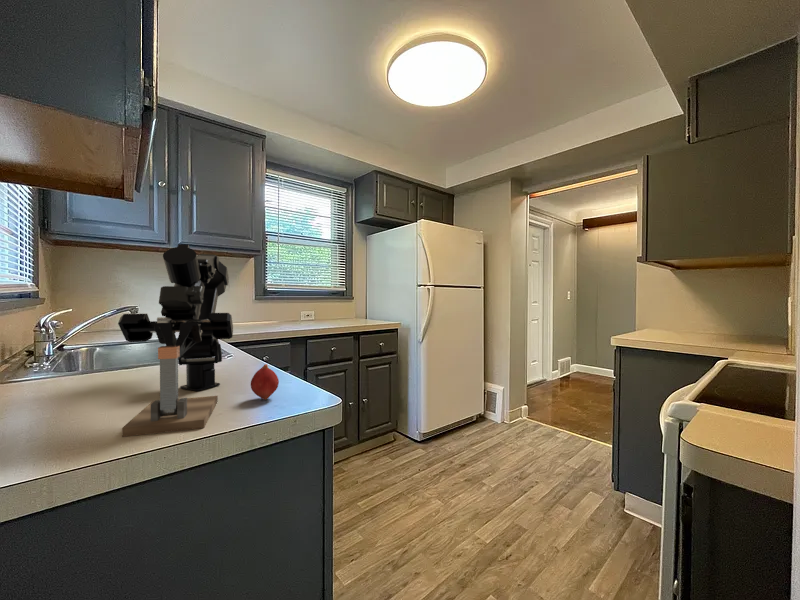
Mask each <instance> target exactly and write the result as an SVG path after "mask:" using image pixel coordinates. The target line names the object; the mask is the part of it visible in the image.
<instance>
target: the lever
mask: <svg viewBox="0 0 800 600" xmlns="http://www.w3.org/2000/svg"><path fill="white" fill-rule="evenodd" d="M179 356H180V345H179V346H166V345H161V346H159V347H158V348H157V359H158V360H159V400H160V416H171V415H177V402H178V399H179V360H178V357H179Z"/></svg>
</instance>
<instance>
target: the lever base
mask: <svg viewBox="0 0 800 600" xmlns="http://www.w3.org/2000/svg"><path fill="white" fill-rule="evenodd" d="M218 401H219V400H218V395H211V396H199V397H198V396H197V397H181V398H178V402H177V415H171V416H160V399H157V400H155V399H154V400H152V401H151V402H150V403H149V404H148V405H146V406H145V407H144V408H143V409H142V410H140V411H139V412H138V413H137V414H136V415H135V416H134V417H133V418H132V419H130V420H129V421H128V422H127V423H126V424H125V425H123V426H122V428H121V437H122V438H123V437H133V436H140V435H153V434H160V433H161V434H162V433H169V432H170V433H171V432H179V431H187V430H188V431H189V430H197V429H198V430H199V429H204V428H205V426H206V425H207V423H208V422H209V419H210V417H211V415H212V414H213V412H214V410H215V408H216V407H217V405H216V404H218V403H217V402H218Z"/></svg>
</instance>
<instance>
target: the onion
mask: <svg viewBox="0 0 800 600" xmlns="http://www.w3.org/2000/svg"><path fill="white" fill-rule="evenodd" d="M279 382H280V380H279V377H278V376H277V374H276V372H275V371H274V370H273V369H271V368H269V366H268V364H267V363H266V364H263V366H262V367H261V368H259V369H258V370H257V371H256V372H255V373H254V375H253V376H252V378H251V380H250V389H251V391H252V392H253V393H254V394H255V395H256V396H257V397H259V398H260V399H262V400H263V401H264V400H268V399H269V398H270V397H271V396H272V395H273V394H274V393H275V392H276V390H277V389H278V387H279Z"/></svg>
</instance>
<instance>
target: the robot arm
mask: <svg viewBox="0 0 800 600" xmlns="http://www.w3.org/2000/svg"><path fill="white" fill-rule="evenodd" d="M162 258H163V262H164V266H165V269H166V273H167V275H168V279H169V282H170V283H171V284H174V285H173V286H172V285H171V286H169V285H166V286H165V285H164V286H161V287H160V291H159V298H158V299H159V300H158V304H159V305H160V306H161V311H160V313H161V316H160V317H159V316H158V317H157V318H156V321H154V320H153V321H152V320H150V318H149V314H148V313H124V314H122V315H120V318H119V320H118V323H117V324H118V325H117V326H118V327H119V329H120V331H121V332H122V335H123V337H124V339H125V341H127V342H129V343H145V342H148V341H150V340H152V337H153V335H154V333H155V334H156V336H157V337H156V338H157V340H158V341H159V344H162V345H165V346H179V345H180V356H179V357H178V366H185V365H186V366H185V367H186V384H184V385H183V384H182V385H180V389H184V390H189V391H195V392H199V391H203V390H207V389H211V388H215V387H218V386H220V385H221V383H219V382H217V381H216V369H215V364H218V363H222V362H223V351H222V347H221V343H220V342H219V340H230V339H232V338H233V337H234V336H233V335H234V324H233V317H232V314H230V312H216V308H217V303H218V300H219V297H220V296H221V295H223V294H224V293H226V288H227V286H229V278H230V277H229V272H228V271H229V270H228V267H227V266H225V264H223V263H222V262H221V261H220V258H219V256H218V255H216V254H204V253H203V254H198V255H197V252H196V251H195V250H194V249H192V248H190V244H185V243H183V244H182V243H178V245H177V246H176V247H171V248H170V249H167V250H166V251H165V252H163V254H162ZM177 333H178V337H176V334H177Z"/></svg>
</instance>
